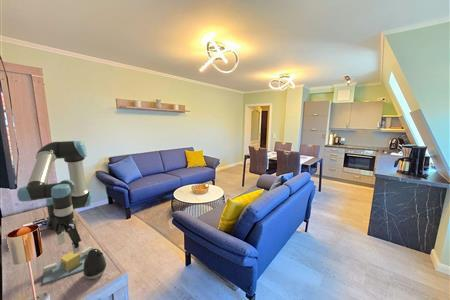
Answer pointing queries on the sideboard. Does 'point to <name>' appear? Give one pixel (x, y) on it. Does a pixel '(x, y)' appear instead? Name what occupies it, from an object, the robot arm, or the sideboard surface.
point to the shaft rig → (56, 272)
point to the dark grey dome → (94, 264)
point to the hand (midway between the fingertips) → (69, 247)
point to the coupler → (70, 261)
